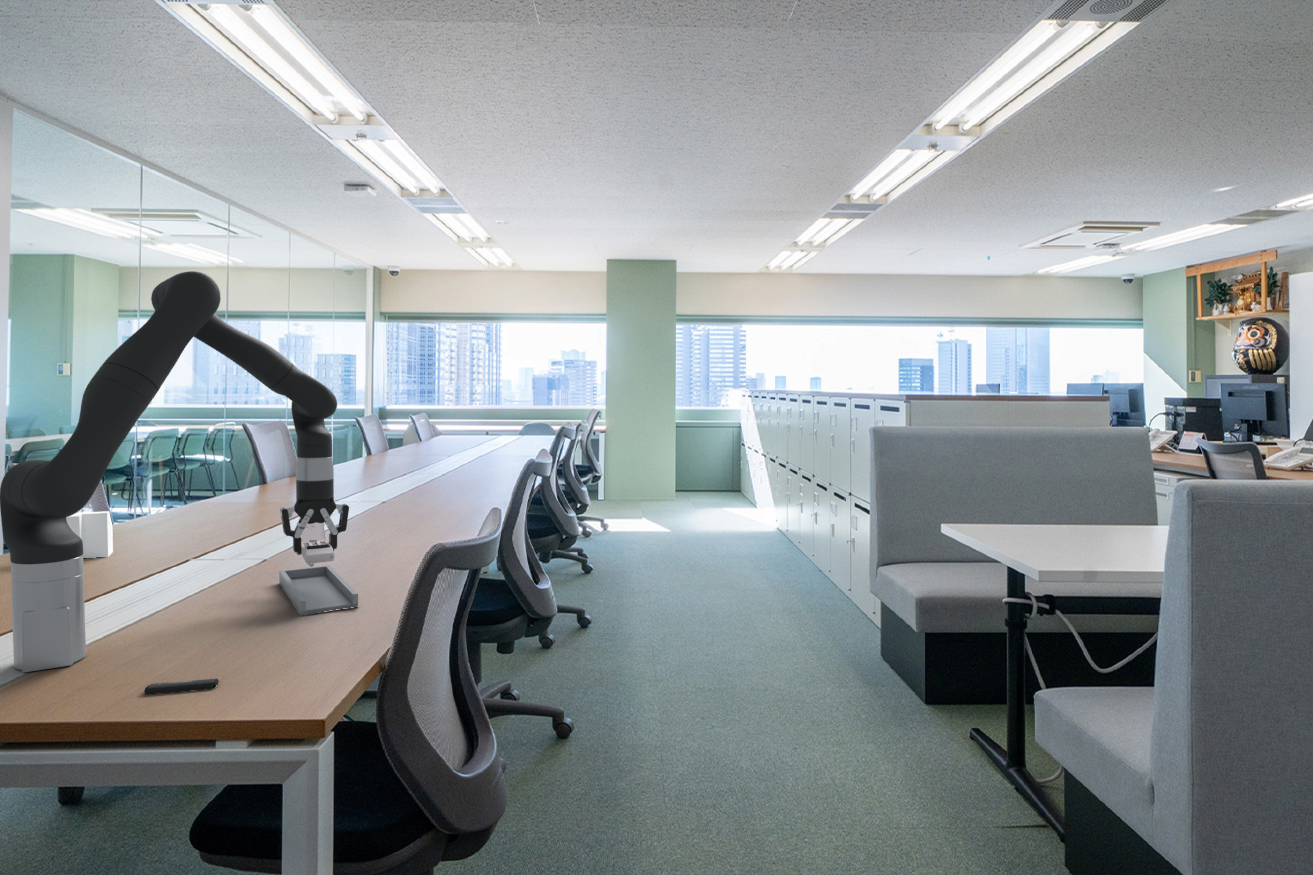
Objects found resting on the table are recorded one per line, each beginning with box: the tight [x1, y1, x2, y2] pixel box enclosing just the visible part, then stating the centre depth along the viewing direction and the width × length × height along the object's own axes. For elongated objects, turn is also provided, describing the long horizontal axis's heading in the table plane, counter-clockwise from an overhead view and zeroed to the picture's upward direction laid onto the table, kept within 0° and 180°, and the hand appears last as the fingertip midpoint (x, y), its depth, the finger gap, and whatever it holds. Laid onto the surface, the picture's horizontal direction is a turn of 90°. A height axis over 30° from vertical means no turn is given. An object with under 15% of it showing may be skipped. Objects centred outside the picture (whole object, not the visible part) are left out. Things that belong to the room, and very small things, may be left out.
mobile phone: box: [295, 522, 335, 567], centre depth 164 cm, size 6×6×25 cm
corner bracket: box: [66, 510, 114, 559], centre depth 196 cm, size 11×11×12 cm
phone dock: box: [278, 564, 359, 617], centre depth 164 cm, size 30×11×3 cm, turn 34°
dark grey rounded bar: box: [143, 678, 220, 695], centre depth 112 cm, size 10×3×2 cm, turn 107°
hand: (315, 552), depth 163 cm, fingers closed on mobile phone, 6 cm apart
